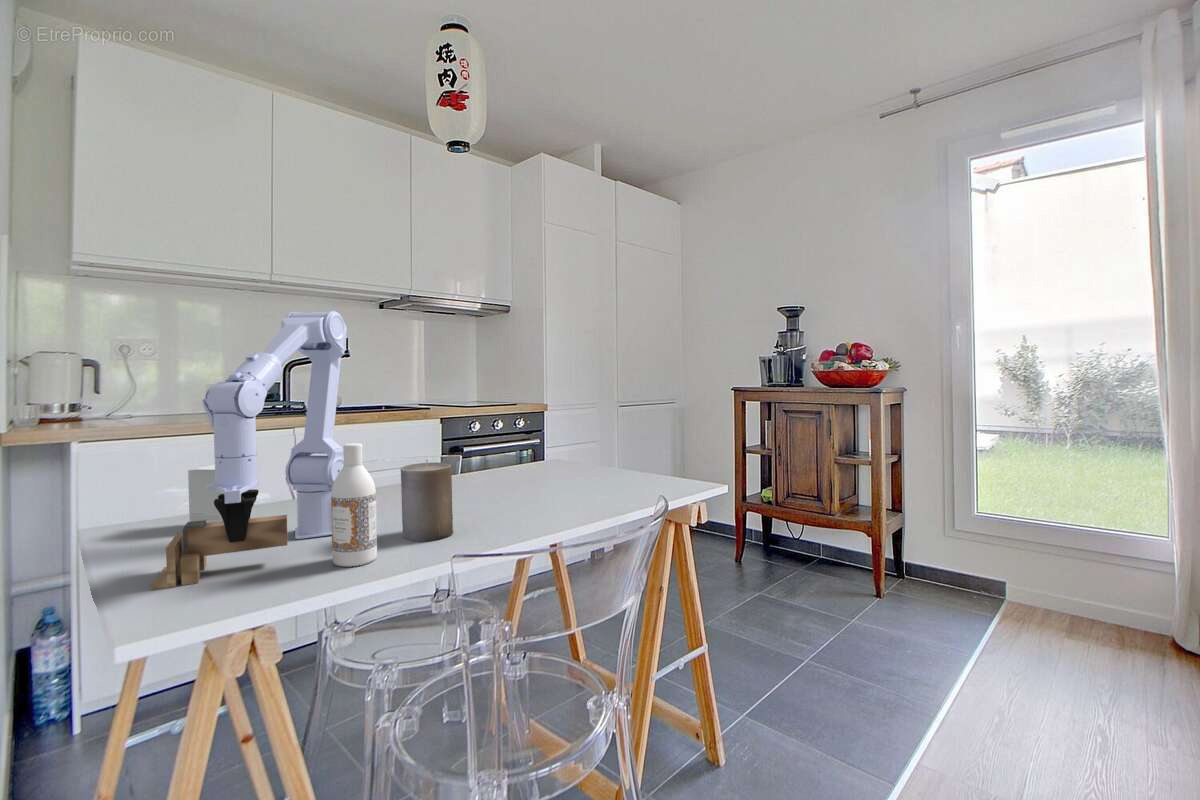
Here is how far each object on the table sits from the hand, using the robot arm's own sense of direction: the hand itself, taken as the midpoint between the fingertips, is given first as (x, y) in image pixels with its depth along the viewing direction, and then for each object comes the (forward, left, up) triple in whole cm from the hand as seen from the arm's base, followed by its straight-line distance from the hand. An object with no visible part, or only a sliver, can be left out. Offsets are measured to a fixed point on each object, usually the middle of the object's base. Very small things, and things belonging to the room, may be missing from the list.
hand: (238, 538), depth 91 cm
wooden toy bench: (+8, 0, -5) cm, 9 cm away
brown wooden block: (0, 0, -2) cm, 2 cm away
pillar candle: (-31, -5, -5) cm, 32 cm away
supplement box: (+6, -32, -5) cm, 33 cm away
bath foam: (-17, +5, -5) cm, 18 cm away
